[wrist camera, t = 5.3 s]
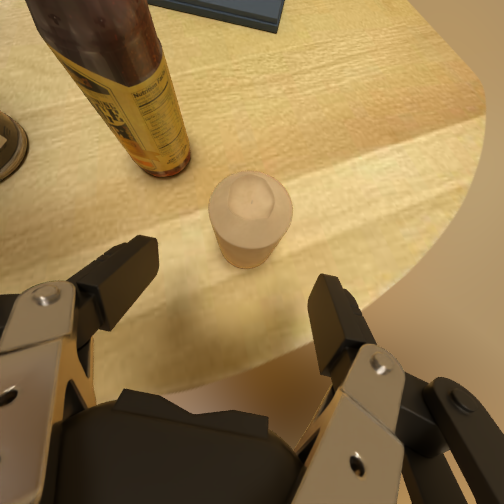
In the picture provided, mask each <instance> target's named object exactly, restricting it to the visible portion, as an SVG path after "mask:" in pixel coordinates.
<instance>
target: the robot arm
mask: <svg viewBox="0 0 504 504" xmlns="http://www.w3.org/2000/svg"><path fill="white" fill-rule="evenodd" d="M26 149H27V138H26V134H25V132H24V130H23V128H22V127H21V126H20V125H19V124H18V123H17V122H16V121H14V120H13V119H12V118H11V117H9V116H8V115H6V114H5V113H3V112H1V111H0V180H2V179H4V178H5V177H7V176H8V175H9V174H10V173H12V172H13V171H14V170H15V169H16V168H17V167H18V165H19V164H20V163H21V161H22V160H23V158H24V155H25V153H26ZM158 269H159V255H158V242H157V239H156V238H152V237H148V236H143V235H137V236H136V237H134V238H133V239H132V240H130V241H129V242H128V243H122V244H120V245H117V246H114V247H112V248H111V249H110V250H108V251H107V252H105V253H104V255H101V256H100V257H98V258H97V260H94V261H93V262H91V263H90V264H89V265H87V266H86V267H84V268H83V269H82V270H80V271H79V272H77V273H76V274H75V275H73V276H72V277H71V278H69V279H68V280H66V281H49V282H45V283H41V284H38V285H35V286H33V287H31V288H29V289H27V290H25V291H24V292H22V293H21V294H4V295H0V504H397V497H398V491H399V484H400V476H401V472H402V475H403V478H404V481H405V484H406V487H407V490H408V493H409V495H410V499H411V501H412V504H468V503H467V501H466V499H465V497H464V495H463V493H462V491H461V489H460V487H459V485H458V483H457V481H456V479H455V477H454V475H453V473H452V471H451V469H450V466H449V464H448V462H447V460H446V458H445V456H444V454H443V453H444V452H446V451H448V450H451V452H452V454H453V456H454V458H455V460H456V462H457V464H458V466H459V468H460V470H461V472H462V473H463V476H464V477H465V479H466V481H467V483H468V485H469V487H470V489H471V491H472V493H473V495H474V497H475V500H476V503H477V504H504V434H503V433H502V432H501V430H500V429H499V427H498V426H497V424H496V423H495V422H494V420H493V419H492V418H491V417H490V415H489V413H488V412H487V411H486V409H485V408H484V407H483V406H482V404H481V403H480V402H479V401H478V400H477V399H476V397H475V396H473V394H471V393H470V392H469V391H468V390H467V389H465V388H464V387H462V386H461V385H460V384H458V383H456V382H454V381H452V380H450V379H448V378H444V377H438V378H436V379H434V380H433V381H432V382H431V383H427V382H425V381H423V380H421V379H418V378H417V377H414V376H412V375H410V374H408V373H406V372H404V370H403V368H402V366H401V365H400V363H399V362H398V361H397V359H396V358H395V357H394V356H393V355H392V354H391V353H389V352H388V351H387V350H385V349H384V348H382V347H379V346H377V344H376V342H375V339H374V337H373V335H372V333H371V331H370V329H369V327H368V325H367V323H366V321H365V319H364V317H363V316H362V313H361V311H360V309H359V308H358V304H357V302H356V300H355V298H354V297H353V296H352V295H351V294H350V293H349V292H348V291H347V289H343V288H342V285H341V283H340V281H339V279H338V277H336V276H331V275H326V274H320V275H319V276H318V278H317V281H316V283H315V285H314V287H313V289H312V291H311V294H310V296H309V299H308V313H309V318H310V324H311V329H312V334H313V339H314V344H315V350H316V354H317V360H318V365H319V370H320V375H324V376H329V377H331V380H332V385H331V386H330V387H329V389H328V391H327V393H326V395H325V397H324V399H323V400H322V402H321V404H320V406H319V408H318V410H317V412H316V413H315V415H314V417H313V419H312V421H311V423H310V425H309V427H308V428H307V430H306V432H305V433H304V434H303V436H302V437H301V439H300V441H299V442H298V444H297V445H296V447H295V449H294V451H293V450H292V448H290V446H289V445H288V444H287V443H286V442H285V441H284V440H283V439H282V438H281V437H279V436H278V435H277V434H276V433H274V432H273V431H271V430H269V429H268V417H266V416H261V415H256V414H251V413H246V412H241V411H236V410H229V411H220V412H213V413H204V414H191V413H189V412H188V411H186V410H184V409H182V408H180V407H179V406H177V405H175V404H174V403H172V402H170V401H168V400H167V399H165V398H163V397H161V396H160V395H155V394H149V393H144V392H139V391H134V390H129V389H123V391H122V393H121V394H120V396H119V398H118V400H114V401H109V402H105V403H101V404H98V405H96V397H95V392H94V384H93V367H94V339H93V335H94V333H95V332H96V331H97V330H98V329H100V330H105V331H110V332H111V330H112V329H113V328H114V327H115V325H116V324H117V323H118V322H119V321H120V319H121V318H122V317H123V316H124V314H125V313H126V312H127V311H128V310H129V308H130V307H131V306H132V305H133V303H134V302H135V301H136V300H137V299H138V297H139V296H140V295H141V294H142V292H143V291H144V290H145V289H146V287H147V286H148V285H149V284H150V283H151V281H152V280H153V279H154V278H155V276H156V275H157V272H158Z"/></svg>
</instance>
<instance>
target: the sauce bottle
mask: <svg viewBox="0 0 504 504" xmlns="http://www.w3.org/2000/svg"><path fill="white" fill-rule="evenodd" d="M25 1H26V3H27V6H28V8H29V11H30V13H31V16H32V18H33V21H34V23H35V26H36V28H37V30H38V32H39V34H40V35H41V37H42V38H43V40H44V41H45V42H46V44H47V45H48V46H49V48H50V49H51V50H52V52H53V53H54V54H55V56H56V57H57V59H58V60H59V61H60V63H61V64H62V65H63V66H64V68H65V69H66V70H67V72H68V73H69V74H70V76H71V77H72V78H73V80H74V81H75V83H76V84H77V85H78V87H79V88H80V89H81V91H82V92H83V93H84V95H85V96H86V97H87V99H88V100H89V101H90V103H91V104H92V105H93V107H94V108H95V110H96V111H97V112H98V113H99V115H100V116H101V117H102V119H103V120H104V121H105V123H106V124H107V125H108V127H109V128H110V129H111V131H112V132H113V133H114V135H115V136H116V137H117V139H118V140H119V141H120V143H121V144H122V145H123V147H124V148H125V149H126V151H127V152H128V154H129V155H130V156H131V158H132V159H133V160H134V161H135V162H136V163H137V164H138V165H139V166H140V167H141V168H143V169H144V170H145V171H146V172H148V173H150V174H152V175H154V176H157V177H164V176H172V175H175V174H177V173H179V172H180V171H181V170H183V169H184V167H185V166H186V165H187V164H188V162H189V160H190V148H189V140H188V136H187V133H186V129H185V126H184V122H183V119H182V115H181V112H180V108H179V105H178V101H177V98H176V94H175V91H174V87H173V84H172V80H171V77H170V73H169V70H168V66H167V63H166V59H165V56H164V52H163V49H162V45H161V43H160V41H159V38H158V37H157V35H156V31H155V28H154V24H153V21H152V17H151V14H150V11H149V8H148V3H147V0H25Z"/></svg>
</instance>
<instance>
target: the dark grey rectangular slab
mask: <svg viewBox="0 0 504 504" xmlns="http://www.w3.org/2000/svg"><path fill="white" fill-rule="evenodd" d="M284 1H285V0H147V3H148V4H152V5H156V6H161V7H165V8H169V9H174V10H178V11H182V12H187V13H191V14H195V15H200V16H204V17H208V18H213V19H217V20H221V21H226V22H230V23H234V24H239V25H243V26H247V27H252V28H256V29H260V30H265V31H269V32H273V33H277V30H278V26H279V22H280V17H281V13H282V9H283V5H284Z"/></svg>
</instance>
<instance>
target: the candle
mask: <svg viewBox="0 0 504 504" xmlns="http://www.w3.org/2000/svg"><path fill="white" fill-rule="evenodd" d="M208 210H209V217H210V221H211V224H212V227H213V229H214V232H215V235H216V238H217V241H218V244H219V247H220V249H221V252H222V254H223V256H224V257H225V258H226V260H227V261H228V262H230V263H231V264H232V265H234V266H237V267H240V268H253V267H256V266H259V265H260V264H262V263H263V262H264V261H265V260H266V259H267V258H268V257H269V255H270V254H271V253H272V251H273V250H274V248H275V247H276V246H277V244H278V243H279V241H280V240H281V238H282V237H283V236H284V234H285V233H286V231H287V230H288V228H289V226H290V223H291V220H292V215H293V207H292V201H291V198H290V196H289V194H288V192H287V190H286V189H285V187H284V186H283V185H282V184H281V183H280V182H279V181H278V180H276V179H275V178H273V177H272V176H270V175H268V174H265V173H262V172H258V171H241V172H237V173H234V174H231V175H229V176H227V177H226V178H224V179H223V180H222V181H221V182H220V183H219V184H218V185H217V186H216V187H215V189H214V190H213V192H212V194H211V197H210V200H209V209H208Z"/></svg>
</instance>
